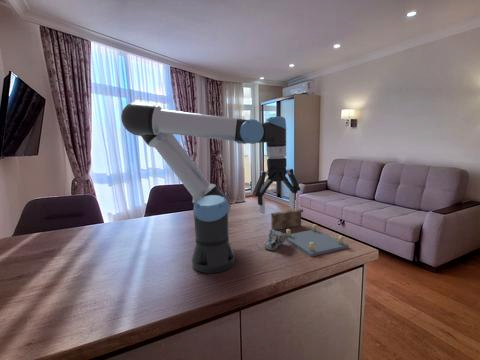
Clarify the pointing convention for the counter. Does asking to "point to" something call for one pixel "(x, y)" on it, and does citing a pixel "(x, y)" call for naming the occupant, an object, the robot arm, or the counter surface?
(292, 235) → the base
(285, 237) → the mineral specimen
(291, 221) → the panel
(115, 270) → the counter surface
